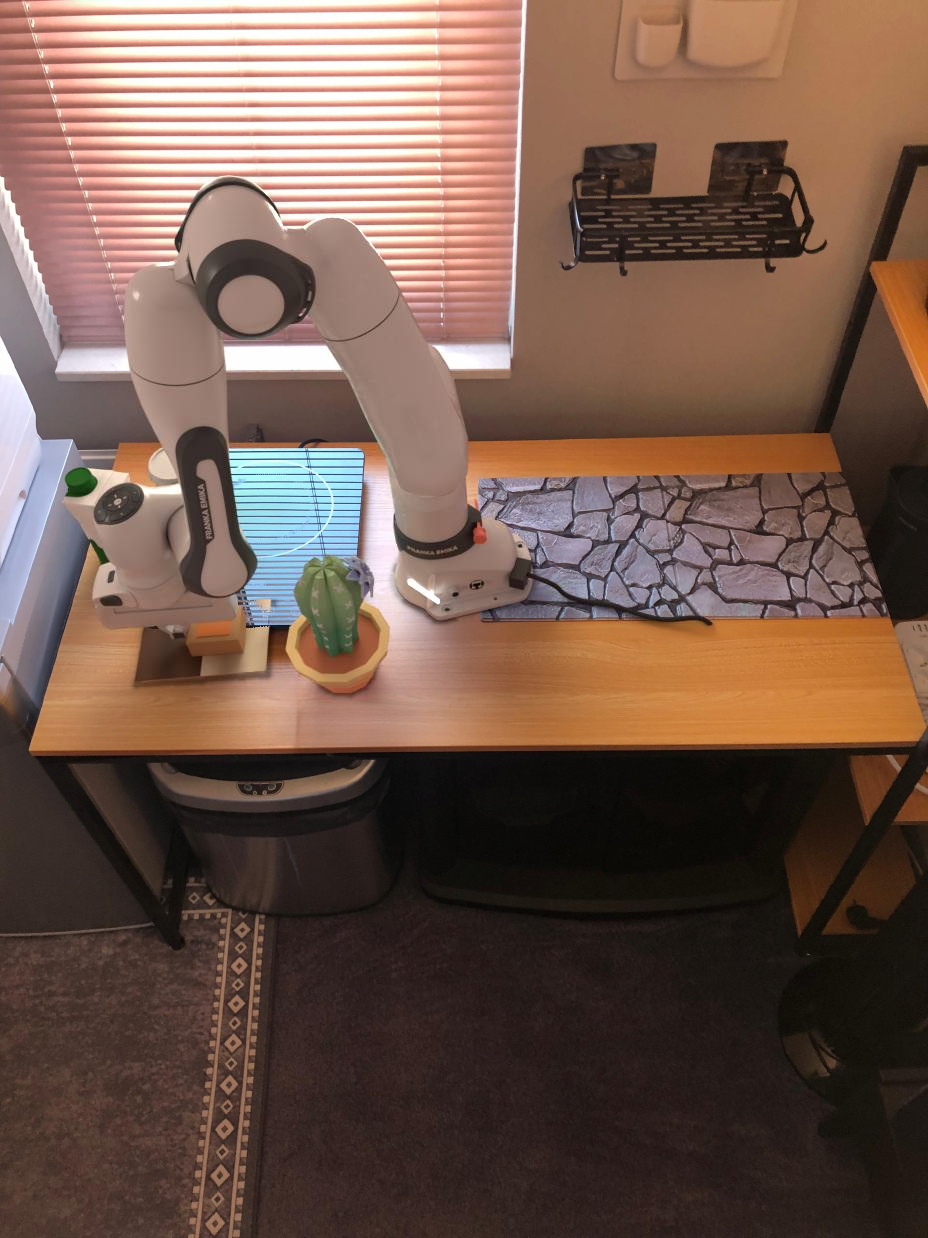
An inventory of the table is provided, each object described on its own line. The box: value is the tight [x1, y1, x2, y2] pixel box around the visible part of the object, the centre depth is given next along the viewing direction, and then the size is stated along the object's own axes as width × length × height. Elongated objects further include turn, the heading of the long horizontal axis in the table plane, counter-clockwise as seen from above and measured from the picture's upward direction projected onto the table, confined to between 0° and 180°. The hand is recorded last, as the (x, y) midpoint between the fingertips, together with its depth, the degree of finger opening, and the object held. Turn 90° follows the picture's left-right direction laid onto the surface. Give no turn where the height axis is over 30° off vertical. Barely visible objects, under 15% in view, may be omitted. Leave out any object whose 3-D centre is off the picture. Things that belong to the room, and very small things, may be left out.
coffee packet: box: [186, 606, 247, 656], centre depth 146 cm, size 8×6×4 cm
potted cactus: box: [285, 554, 391, 694], centre depth 134 cm, size 15×15×25 cm
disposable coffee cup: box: [147, 446, 178, 486], centre depth 161 cm, size 10×10×12 cm
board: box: [134, 597, 272, 682], centre depth 148 cm, size 20×14×1 cm
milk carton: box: [61, 466, 131, 566], centre depth 151 cm, size 9×9×20 cm
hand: (181, 635), depth 147 cm, fingers closed
